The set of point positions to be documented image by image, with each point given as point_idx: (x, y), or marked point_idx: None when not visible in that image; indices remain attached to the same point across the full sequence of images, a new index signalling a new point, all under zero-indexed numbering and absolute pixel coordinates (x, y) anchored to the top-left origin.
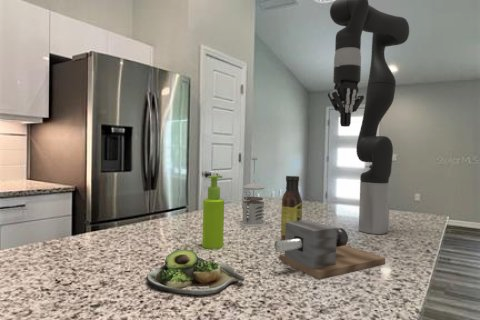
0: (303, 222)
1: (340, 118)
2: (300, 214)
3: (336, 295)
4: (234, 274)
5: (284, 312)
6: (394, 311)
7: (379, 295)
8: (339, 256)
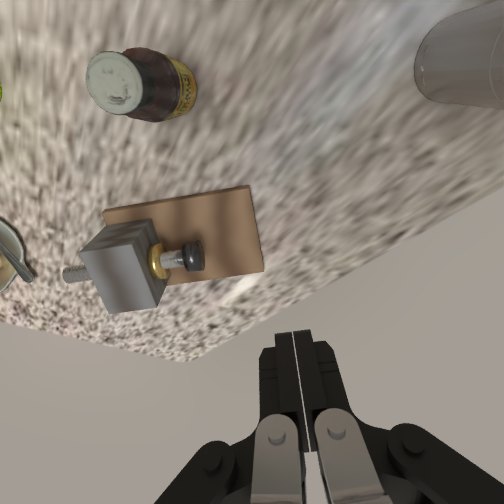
0: (114, 262)
1: (260, 384)
2: (174, 116)
3: (137, 321)
4: (19, 271)
5: (72, 333)
6: (173, 355)
7: (182, 332)
8: None
